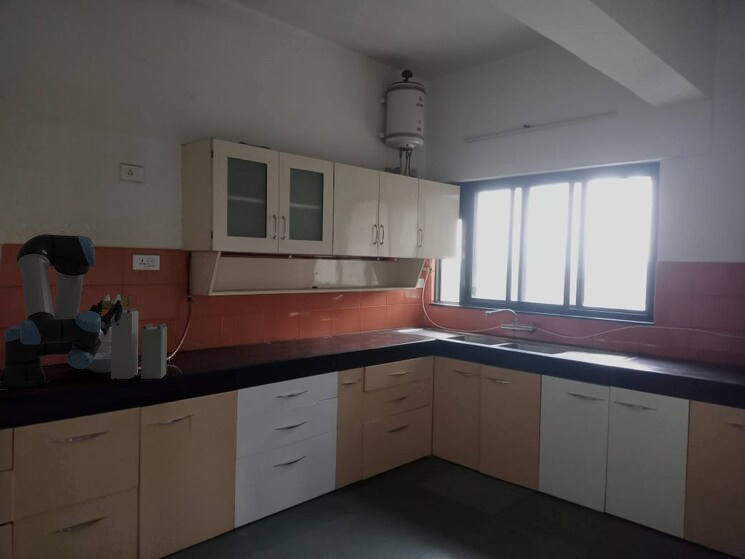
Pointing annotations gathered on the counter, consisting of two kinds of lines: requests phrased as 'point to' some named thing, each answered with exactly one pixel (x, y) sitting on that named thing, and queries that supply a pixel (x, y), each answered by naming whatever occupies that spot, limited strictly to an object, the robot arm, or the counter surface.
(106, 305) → the brass pin
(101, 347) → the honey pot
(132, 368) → the block
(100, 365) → the cereal bowl
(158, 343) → the upright grey pillar
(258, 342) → the counter surface
